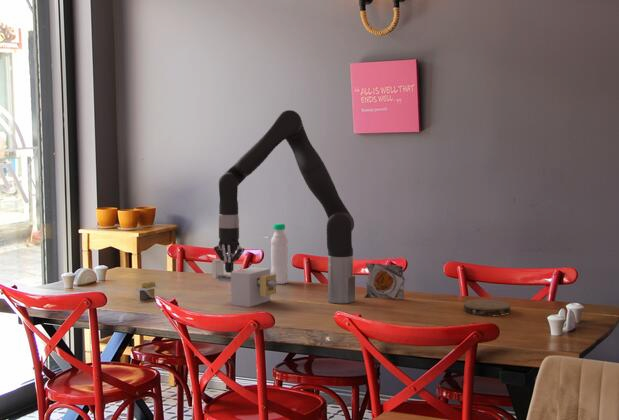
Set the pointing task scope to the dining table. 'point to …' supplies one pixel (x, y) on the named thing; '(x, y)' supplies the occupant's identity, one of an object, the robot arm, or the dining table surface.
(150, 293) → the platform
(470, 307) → the dark brown disc
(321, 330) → the dining table surface
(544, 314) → the dining table surface
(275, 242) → the water bottle
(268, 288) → the spacer
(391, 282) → the meal
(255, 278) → the block
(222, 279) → the shaft
